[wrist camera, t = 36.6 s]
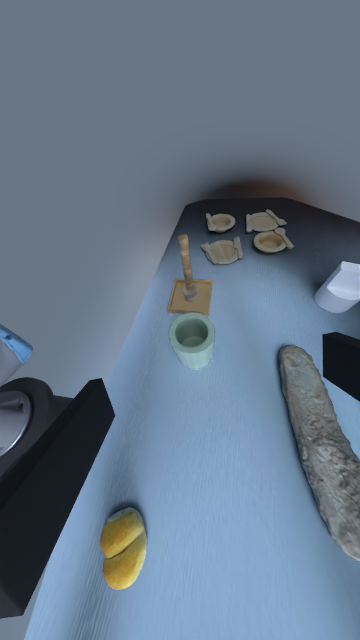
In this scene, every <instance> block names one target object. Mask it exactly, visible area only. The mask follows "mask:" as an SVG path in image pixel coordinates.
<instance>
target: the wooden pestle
mask: <svg viewBox="0 0 360 640" xmlns="http://www.w3.org/2000/svg"><path fill="white" fill-rule="evenodd" d="M178 240H179V246H180V252H181V258H182V264H183V270H184V277H185V283H186V285H185V286H184V287H183V293H184V298H185V300H186V301H188V302H194V301H196V300H197V298H198V291H197V286H196V285H195V284H193V280H192V271H191V262H190V253H189V244H188V236H187V235H185V234H182V235H180V236H179V237H178Z"/></svg>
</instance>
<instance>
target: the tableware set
mask: <svg viewBox="0 0 360 640" xmlns="http://www.w3.org/2000/svg"><path fill="white" fill-rule="evenodd" d="M206 218H207V220H208V222H207V224H208V229H209V230H210V231H215V232H218V233H221V232H225V231H227V230H228V229H230V228H231V227H232V226H233V225H234V224H235V219H234V218H233V217H232V216H230V215H227V214H218V215H214V216H212V217H211V216H210V214H206ZM246 224H247V232H251V231H252V230H254V231H258V232H262V233H260V234H258V235H257V236H256V237H255V238H254V245H255V246H256V247H257V248H258V249H259V250H261V251H262V252H264V253H273V252H278V251H281V250H283V249H284V248H285V247H286V246H287V247H288V248H289V249H292V248H293V247H294V246H293V244H292V243H291V242H290V241H289V239H288V238H287V237H286V236H285V230H284V229H283V228H277V227H278V226H279V225H280V226H281V225H284V224H287V223H286V222H285V221H284V220H282V219H279V218H278V217H277V216H275V214H274V213H273V212H271V211H270V210H266V213H256V214H253V215H251V216H250V214H247V216H246ZM274 229H275V232H273V231H272V230H274ZM201 247H202V248H203V250H205V251H206V255H207V258H208V259H209V260H210V261H212V262H213V264H229V263H232V262H234V261H236V260H237V259H238V258H239V259H241V258H242V257H243V255H242V250H241V244H240V239H239V237H236V238H234V242H232V241H228V240H220V241H216V242H214V243H212V244H210V245H209V244H208V243H206V244H204V245H203V244H202V245H201Z"/></svg>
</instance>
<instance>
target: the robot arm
mask: <svg viewBox="0 0 360 640" xmlns="http://www.w3.org/2000/svg"><path fill="white" fill-rule="evenodd" d="M32 353H33V347H32V346H31V345H30V344H29V343H27V342H26V341H25V340H23V339H22V338H21V337H19V336H18V335H16V334H15V333H13V332H12V331H10V330H9V329H7V328H6V327H4V326H3V325H1V324H0V387H1V386H2V385H3V384H4V383H5V382H6V381H7V380H8V379H9V378H10V377H11V376H12V375H13V374H14V373H15V372H16V371H17V370H18V369H19V368H20V367H21V366H22V365H24V363H25V361H26V360H27V359H28V358H29V357H30V355H31V354H32ZM323 377H324V378H326V379H327V380H329V381H330V382H332V383H333V384H335V385H336V386H337V387H339V388H340V389H342V390H343V391H345V392H346V393H348V394H349V395H351V396H352V397H354V398H355V399H357V400H358V401H359V402H360V340H359V339H356V338H353V337H350V336H347V335H344V334H341V333H338V332H333V333H328V334H323ZM33 413H34V404H33V400H32V398H31V397H30V395H28V394H27V393H25V392H20V391H7V392H1V393H0V458H1V457H3V456H5V455H6V454H8V453H9V452H10V451H12V450H13V449H14V448H15V447H16V446H17V445H18V444H19V442H20V441H21V440H22V439H23V437H24V436H25V434H26V432H27V431H28V429H29V426H30V424H31V421H32V418H33ZM114 417H115V413H114V410H113V407H112V405H111V402H110V399H109V396H108V394H107V391H106V388H105V385H104V383H103V380H102V378H100V379H94V380H90V381H89V382H88V383H87V384H86V385H85V386H84V387H83V389H82V390H81V391H80V392H79V393H78V394H77V395H76V397H75V398H74V399H73V400H72V401H71V402H70V403H69V405H68V406H67V407H66V408H65V409H64V410H63V411H62V413H61V414H60V415H59V416H58V417H57V418H56V419H55V421H54V422H53V423H52V424H51V425H50V426H49V427H48V429H47V430H46V431H45V432H44V433H43V434H42V435H41V437H40V438H39V439H38V440H37V441H36V442H35V443H34V445H33V446H32V447H30V448H29V449H28V450H27V451H25V452H24V453H23V454H22V455H21V456H20V457H18V458H17V459H16V460H15V461H14V462H13V463H12V464H11V465H10V466H9V467H8V469H7V470H6V471H5V472H4V473H3V474H2V475H1V478H0V618H7V617H14V616H22V615H23V614H24V612H25V609H26V607H27V605H28V603H29V601H30V599H31V596H32V594H33V592H34V590H35V588H36V586H37V583H38V581H39V579H40V577H41V575H42V573H43V570H44V568H45V566H46V564H47V562H48V560H49V558H50V555H51V553H52V551H53V549H54V547H55V545H56V543H57V540H58V538H59V536H60V534H61V532H62V530H63V527H64V525H65V523H66V521H67V519H68V517H69V514H70V512H71V510H72V508H73V506H74V504H75V501H76V499H77V497H78V495H79V493H80V491H81V489H82V486H83V484H84V482H85V480H86V478H87V476H88V473H89V471H90V469H91V467H92V465H93V463H94V460H95V458H96V456H97V454H98V452H99V450H100V447H101V445H102V443H103V441H104V439H105V437H106V435H107V432H108V430H109V428H110V426H111V424H112V422H113V419H114Z"/></svg>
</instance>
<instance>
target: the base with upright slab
mask: <svg viewBox="0 0 360 640" xmlns="http://www.w3.org/2000/svg"><path fill="white" fill-rule="evenodd" d="M314 299H315V301H316V303H317V304H318V305H319V306H320V307H321V308H322V309H324V310H326V311H329V312H333V313H342V312H345V311H347V310H348V309H350V308H351V307H352V306H353V305H355V304H356V303H357V302H359V301H360V265H359V264H354V263H349V262H344V261H343V262H342V263H341V264H340V265H339V266H338V267H337V269H336V270H335V271H334V272H333V273H332V275H331V276H330V277H329V278H328V279H327V280H326V282H325V283H324V284H323V285H322V286H321V287H320V289H319V290H318V291H317V292H316V294H315V298H314Z"/></svg>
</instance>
